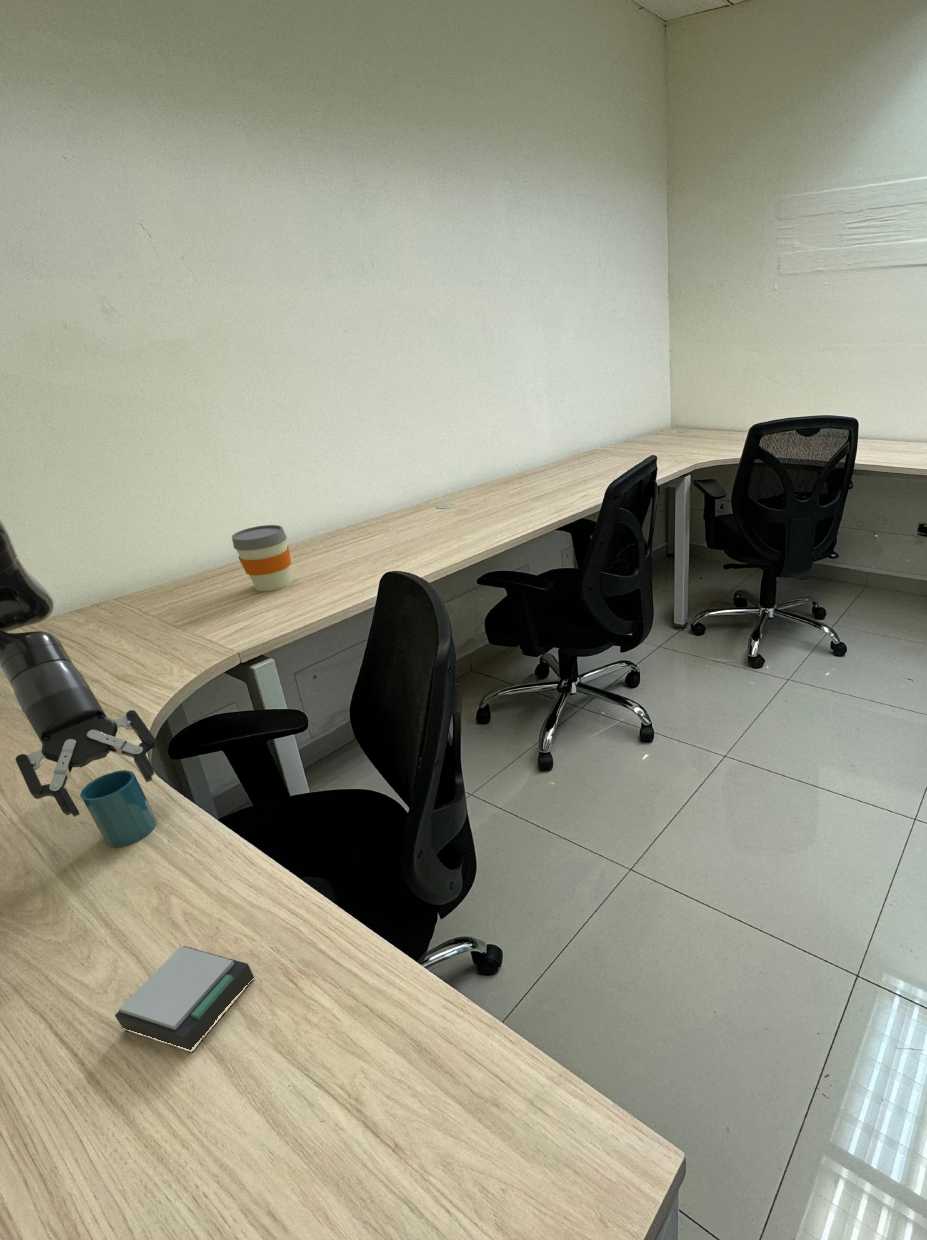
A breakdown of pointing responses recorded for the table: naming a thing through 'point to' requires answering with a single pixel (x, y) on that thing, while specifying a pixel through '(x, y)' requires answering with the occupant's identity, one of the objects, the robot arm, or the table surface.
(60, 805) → the robot arm
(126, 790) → the ceramic cup
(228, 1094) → the table surface
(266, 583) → the reusable coffee cup
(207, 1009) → the scale
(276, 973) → the table surface
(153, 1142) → the table surface
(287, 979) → the table surface
